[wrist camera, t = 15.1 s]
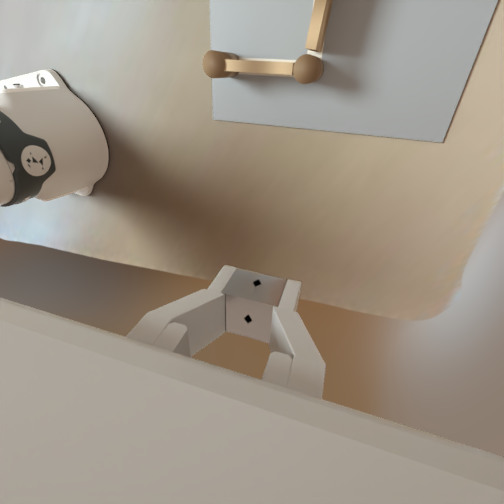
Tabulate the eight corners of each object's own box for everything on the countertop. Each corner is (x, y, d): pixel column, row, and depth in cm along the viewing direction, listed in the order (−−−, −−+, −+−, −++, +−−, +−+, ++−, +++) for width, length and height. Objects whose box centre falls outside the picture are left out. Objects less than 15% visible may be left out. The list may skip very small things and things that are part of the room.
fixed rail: (221, 76, 34) (203, 77, 30) (221, 52, 33) (202, 49, 29) (321, 83, 31) (316, 84, 27) (325, 56, 30) (320, 54, 26)
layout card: (213, 119, 37) (212, 119, 37) (206, -152, 25) (204, -154, 25) (441, 142, 31) (442, 142, 31) (577, -204, 19) (578, -207, 19)
